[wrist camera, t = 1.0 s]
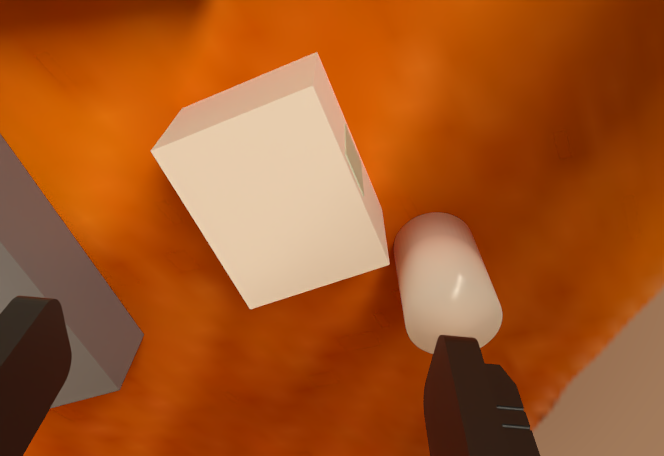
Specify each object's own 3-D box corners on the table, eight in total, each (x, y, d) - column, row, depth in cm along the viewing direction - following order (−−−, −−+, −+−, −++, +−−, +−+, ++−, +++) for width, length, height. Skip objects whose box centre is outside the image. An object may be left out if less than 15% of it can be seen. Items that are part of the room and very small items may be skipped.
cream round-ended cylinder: (463, 202, 32) (492, 271, 26) (480, 266, 35) (510, 343, 29) (383, 225, 33) (393, 297, 27) (405, 286, 36) (419, 365, 30)
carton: (318, 50, 28) (314, 84, 23) (382, 207, 33) (390, 264, 28) (182, 107, 30) (149, 151, 24) (262, 248, 34) (249, 309, 29)
